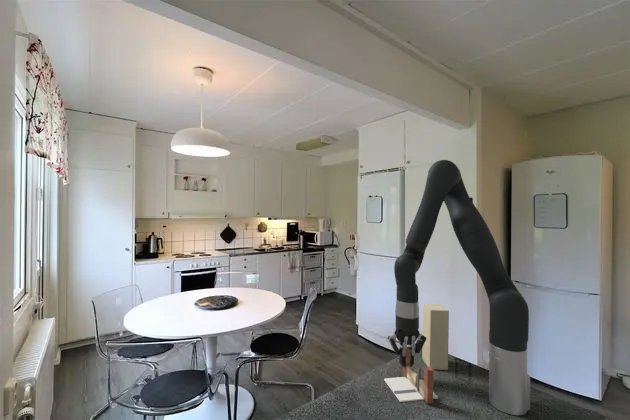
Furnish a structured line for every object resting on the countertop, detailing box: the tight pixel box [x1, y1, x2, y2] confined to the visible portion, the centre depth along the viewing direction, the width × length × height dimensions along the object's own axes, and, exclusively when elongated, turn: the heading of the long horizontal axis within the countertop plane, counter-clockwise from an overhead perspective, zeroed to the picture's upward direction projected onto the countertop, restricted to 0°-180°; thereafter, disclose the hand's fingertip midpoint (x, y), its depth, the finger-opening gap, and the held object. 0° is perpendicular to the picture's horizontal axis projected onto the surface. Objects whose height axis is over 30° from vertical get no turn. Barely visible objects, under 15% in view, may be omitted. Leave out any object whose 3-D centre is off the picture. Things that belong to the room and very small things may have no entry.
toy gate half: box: [402, 346, 417, 387], centre depth 98 cm, size 8×2×9 cm, turn 10°
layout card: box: [383, 376, 439, 403], centre depth 94 cm, size 12×12×1 cm
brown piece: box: [416, 366, 434, 405], centre depth 90 cm, size 2×7×10 cm, turn 10°
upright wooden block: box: [421, 303, 450, 371], centre depth 110 cm, size 8×7×21 cm
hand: (406, 365), depth 100 cm, fingers closed on toy gate half, 2 cm apart
